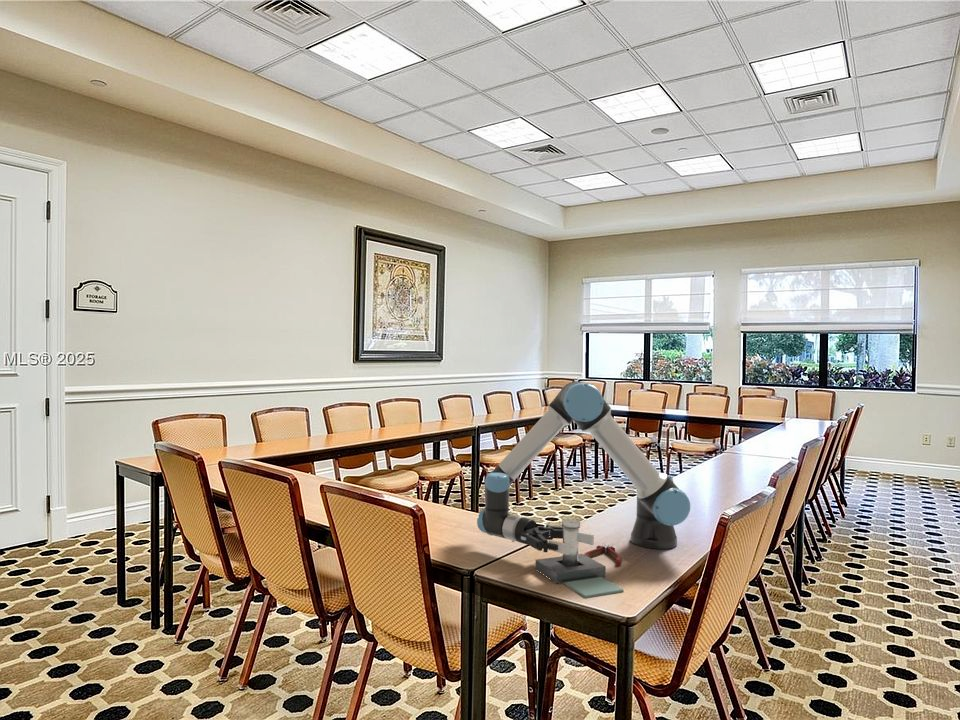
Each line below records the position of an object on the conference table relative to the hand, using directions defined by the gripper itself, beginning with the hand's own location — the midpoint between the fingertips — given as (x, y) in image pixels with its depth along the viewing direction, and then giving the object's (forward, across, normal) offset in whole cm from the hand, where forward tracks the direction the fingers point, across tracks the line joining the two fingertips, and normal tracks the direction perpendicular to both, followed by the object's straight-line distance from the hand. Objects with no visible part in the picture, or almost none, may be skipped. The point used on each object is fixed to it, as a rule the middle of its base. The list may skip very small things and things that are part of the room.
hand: (581, 544), depth 175 cm
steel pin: (-4, 0, -9) cm, 10 cm away
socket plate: (-4, 0, -9) cm, 10 cm away
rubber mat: (+7, +5, -9) cm, 13 cm away
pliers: (-3, -22, -10) cm, 24 cm away
